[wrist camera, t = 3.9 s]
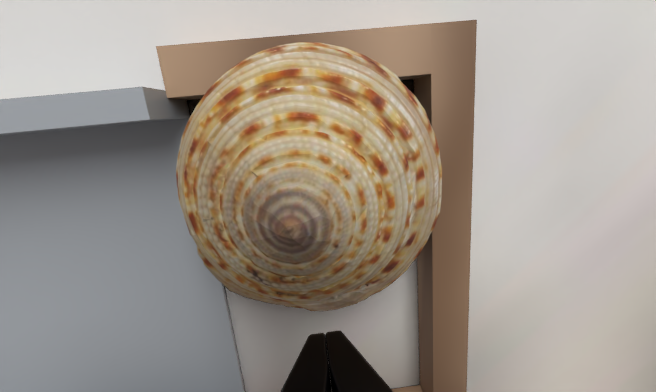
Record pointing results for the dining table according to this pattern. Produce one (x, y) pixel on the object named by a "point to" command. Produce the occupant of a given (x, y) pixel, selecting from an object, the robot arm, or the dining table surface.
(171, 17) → the dining table surface
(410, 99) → the seashell
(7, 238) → the tray
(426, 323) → the cradle
